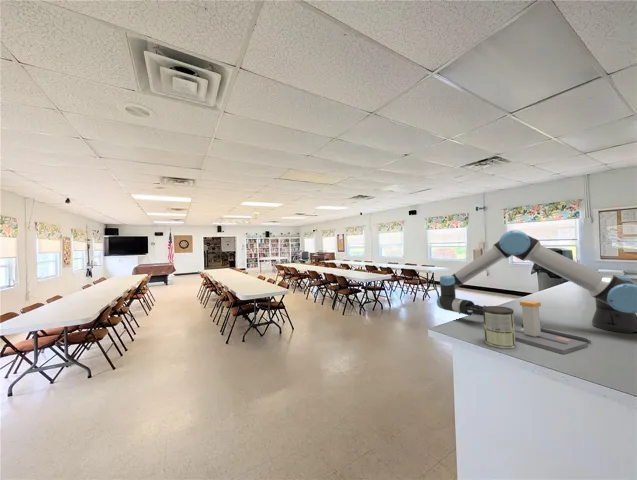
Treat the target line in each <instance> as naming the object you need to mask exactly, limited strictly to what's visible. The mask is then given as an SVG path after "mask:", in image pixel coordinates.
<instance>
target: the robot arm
mask: <svg viewBox="0 0 637 480" xmlns="http://www.w3.org/2000/svg"><path fill="white" fill-rule="evenodd" d="M512 256H513V257H515V258H517V259H519V260H521V261H522V262H524V261H529V262H532V263H534V264H536V265H537V266H539V267H541V268H543V269H545V270H547V271H550V272H551V273H553V274H555V275H557V276H559V277H561V278H563V279H564V280H567V281H569V282H570V283H573V284H575V285H577V286H579V287H580V288H582V289H585V290H586V291H588V292H589V294H590V297H592V298H594V301H595V312H594V314H593V317H592V319H591V325H592V326H593V327H594V328H598V329H602V330H606V331H611V332H618V333H628V334H634V333H633V332H637V284H634V282H633V279H632V278H630V277H621V276H620V277H619V276H616V275H614V274H612V273H611V274H603V273H600V272H598V271H596V270H595V269H592V268H589V267H588V266H586V265H584V264H581V263H579V262H578V261H575V260H573V259H571V258H569V257H566V256H565V255H562V254H561V253H558V252H556V251H554V250H552V249H550V248H547V247H545V246H543V245H541V242H540V240H538V239H536V238H534V237H532V236H530V235H527V233H525V232H523V231H521V230H508V231H506V232H505V233H503V234H502V235H501V236H500V239H499V240H498V241H496V242H495V243H494V244H493V245H492V247H491V248H490V249H488V250H487V251H486V252H484V253H482V254H481V255H479V256H478V257H476V258H475V259H473V260H472V261H471V262H469V263H467V264H466V265H464V266H463V267H462V268H460V269H459V270H457V271H456V272H454V273H452V275H440V277H439V287H440V295H439V296H438V297H437V299H436V305H437V307H439V308H440V309H442V310H445V311H450V312H454V313H458V314H459V315H460V314H461V315H462V314H463V315H467V316H472V315H475V316H477V315H478V316H483V317H484V315H483V307H486V306H487V305H479V304H475V303H474V301H472V300H469V299H463V298H457V297H456V289H458V288H459V287H461V286H462V285H463V284H465V283H467V282H468V281H470V280H472V279H474V278H475V277H476V276H478V275H480V274H481V273H483V272H484V271H486V270H488V269H489V268H491V267H492V266H494V265H495V264H497V263H498V262H500V261H501V260H503V259H508V258H510V257H512Z"/></svg>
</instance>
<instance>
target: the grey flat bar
mask: <svg viewBox="0 0 637 480" xmlns="http://www.w3.org/2000/svg"><path fill="white" fill-rule="evenodd" d="M520 327H523V328H524V326H523V323H522V324H521V326H520ZM540 330H541V332H544V333H549V334H553V335H557V336H561V337H565V338H570V339H574V340H578V341H582V342H587V343H588V344H590V343H591V342H592V339H591V338H589V337H587V336H586V337H585V336H581V335H577V334H576V335H575V334H572V333H566V332H563V331H558V330H555V329H549V328H546V327H541V326H540Z"/></svg>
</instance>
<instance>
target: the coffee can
mask: <svg viewBox="0 0 637 480" xmlns="http://www.w3.org/2000/svg"><path fill="white" fill-rule="evenodd" d="M485 306H486V307H483V315H484V316H483V327H484V328H483V329H484V342H485V344H487V345H488V346H491V347H494V348H499V349H513V348H514V349H515V348H516V347H517V346H516V345H517V344H516V341H515V330H514V325H515V320H514V319H515V318H514V310H515V309H513V308H510V307H506V306H501V305H500V306H499V305H488V306H487V305H485Z"/></svg>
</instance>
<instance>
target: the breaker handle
mask: <svg viewBox="0 0 637 480" xmlns="http://www.w3.org/2000/svg"><path fill="white" fill-rule="evenodd" d="M541 305H542V303H541V302H540V301H532V300H522V301H521V300H520V301H519V306H521V308H522V309H521V310H522V324H523V326H524V334H526V335H530V336H534V337H536V336H540V335H541V330H540V327H541V320H540V319H541V318H540V307H541Z"/></svg>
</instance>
